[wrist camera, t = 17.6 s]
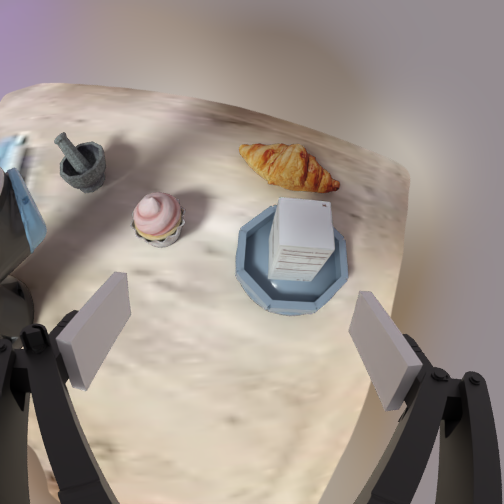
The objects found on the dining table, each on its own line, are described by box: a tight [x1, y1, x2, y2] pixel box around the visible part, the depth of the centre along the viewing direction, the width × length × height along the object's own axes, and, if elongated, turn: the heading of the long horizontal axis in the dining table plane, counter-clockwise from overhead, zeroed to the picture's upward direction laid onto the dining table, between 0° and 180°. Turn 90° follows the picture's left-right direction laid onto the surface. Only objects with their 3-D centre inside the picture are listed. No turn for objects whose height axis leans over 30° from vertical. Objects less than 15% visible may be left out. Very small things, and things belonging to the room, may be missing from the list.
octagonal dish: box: [235, 205, 348, 316], centre depth 48 cm, size 18×18×4 cm
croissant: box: [239, 143, 340, 193], centre depth 56 cm, size 21×10×8 cm, turn 65°
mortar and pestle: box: [54, 132, 106, 193], centre depth 49 cm, size 11×9×12 cm
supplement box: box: [268, 197, 335, 281], centre depth 43 cm, size 7×7×13 cm
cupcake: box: [131, 192, 186, 248], centre depth 46 cm, size 9×9×10 cm
